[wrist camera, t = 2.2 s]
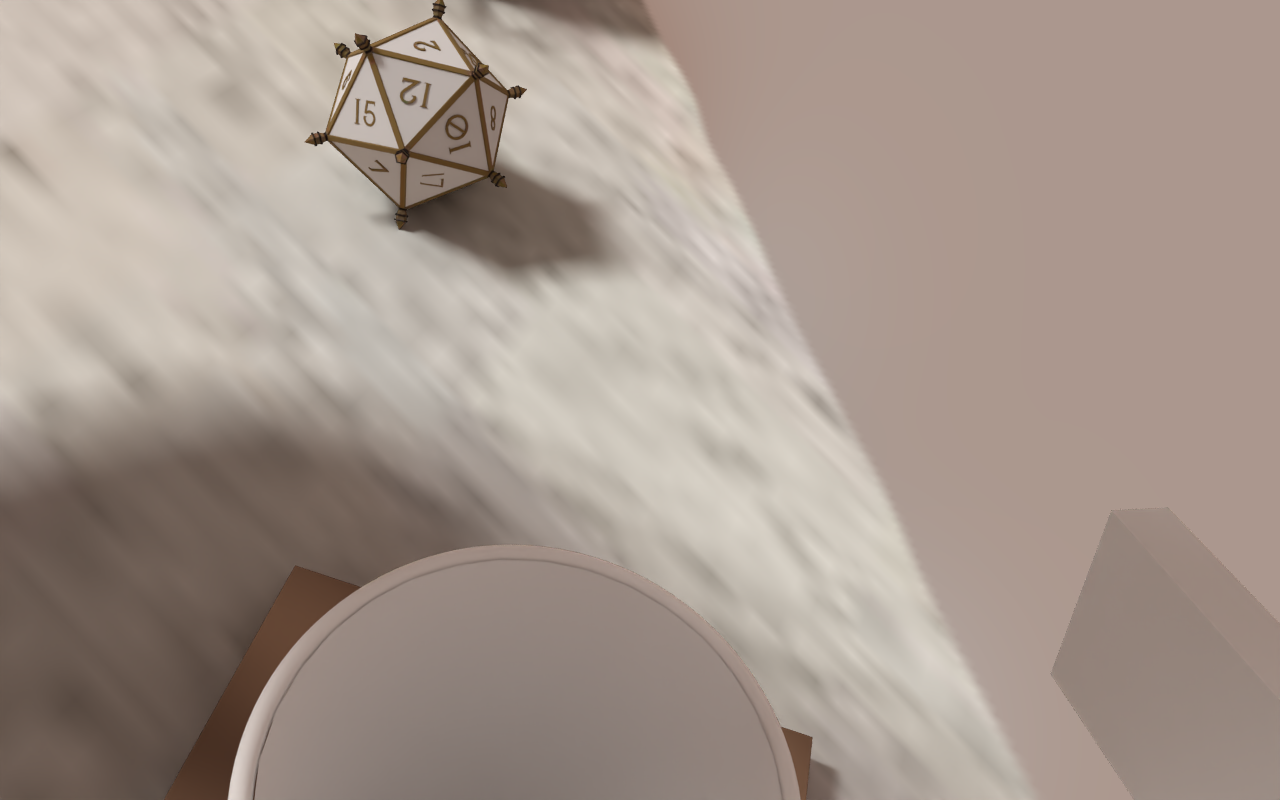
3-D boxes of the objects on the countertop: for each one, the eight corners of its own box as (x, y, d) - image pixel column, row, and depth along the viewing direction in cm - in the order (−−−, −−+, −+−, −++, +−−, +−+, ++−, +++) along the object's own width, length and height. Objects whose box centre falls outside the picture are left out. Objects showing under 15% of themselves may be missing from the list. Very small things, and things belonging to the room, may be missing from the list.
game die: (395, 223, 52) (432, 17, 50) (534, 257, 48) (579, 35, 47) (250, 198, 44) (289, -47, 43) (403, 237, 40) (452, -32, 39)
